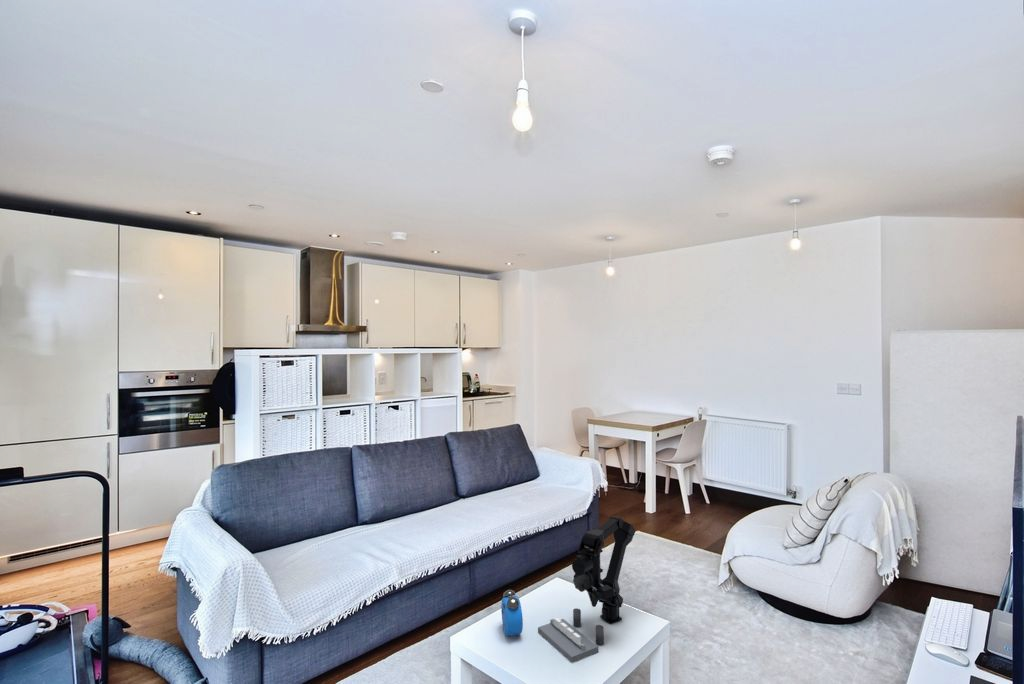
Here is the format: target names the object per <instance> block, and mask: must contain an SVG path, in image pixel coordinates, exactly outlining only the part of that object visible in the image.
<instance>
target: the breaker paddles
mask: <svg viewBox="0 0 1024 684" xmlns="http://www.w3.org/2000/svg"><path fill="white" fill-rule="evenodd" d="M553 619H554V621H553V622H552V624H553V625H554V626H555V627H556V628H558V629H559V630H560V631H561V632H562V633H564V634H565V635H566V636H567V637H568V638H570V639H571V640H572V641H573V642H574V643H576V644H577V645H578V646H579V647H580V648H581V636H580V635H578V634H577V633H576V632H575V633H574V631H573V630H572V629H571V628H570V627H568V626H567V625H566V624H565V623H563V622H562V621H561V619H560V618H558V617H555V618H553Z"/></svg>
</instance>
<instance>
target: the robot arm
mask: <svg viewBox="0 0 1024 684" xmlns="http://www.w3.org/2000/svg"><path fill="white" fill-rule="evenodd" d="M635 528H636V527H634V525H633V524H631V523H629V522H626V521H625V520H624V519H622V518H621V517H618V516H610V517H609V518H608V520H607V521H605V522H604V523H603V524H602V525H600V526H599V527H598V528H597V529H590V530H588V531H586V532H584V534H583V535H582V538H581V540H580V544H579V546H578V550H577V553H580V554H578V555H576V557H575V559H574V560H573V561H572V564H571V568H572V570H573V573H574V575H573V580H572V581H573V585H574V587H575V589H576V590H578V591H579V592H581V593H582V592H585V591H586V593H587V594H588V597H589V600H590V604H591V606H592V608H595V607H596V606H597V604H598V602H599V603H602V604H601V605H602V607H601V615H599V617H600V618H601V619H603V620H604V621H605V622H607V624H608V623H609V625H612V624H614V623H618V622H620V621H623V617H621V616H620V608H622V606H623V604H624V598H623V597H622V596H621V594H620V586H619V582H618V581H619V577H620V575H621V574H620V573H621V569H622V565H623V562H624V561H623V560H624V558H625V554H626V549H627V546H628V545H629V544H630V543H631V542H632V541H633V539H634V537H635V533H636V529H635ZM612 535H613V538H614V545H613V549H612V552H611V556H610V560H609V564H608V567H607V570H606V571H607V572H606V575H605V577H604V578H603V579H602V578H601V575H602V573H603V572H604V571H603V568H601V553H603V552H604V550H603V549H602V548H604V546H605V541H606V539H608V538H610V536H612Z"/></svg>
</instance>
